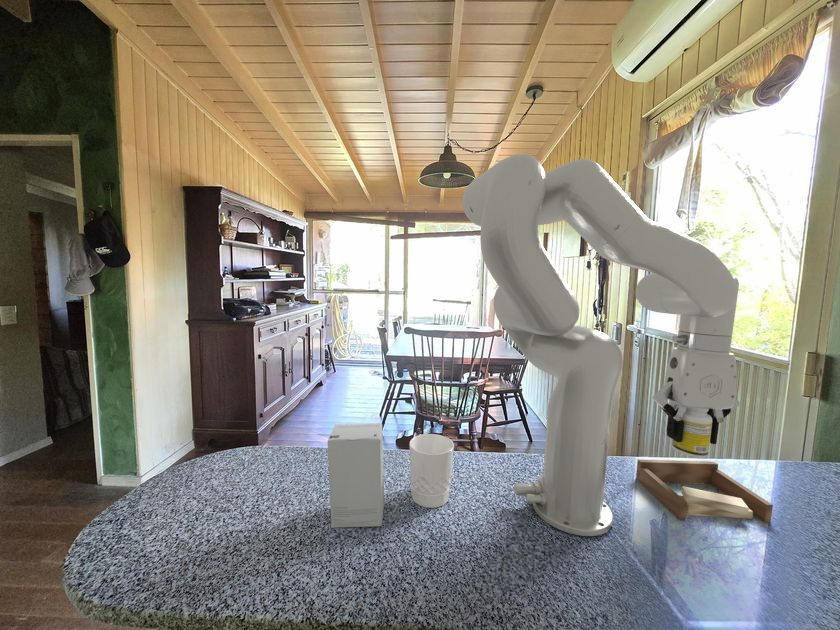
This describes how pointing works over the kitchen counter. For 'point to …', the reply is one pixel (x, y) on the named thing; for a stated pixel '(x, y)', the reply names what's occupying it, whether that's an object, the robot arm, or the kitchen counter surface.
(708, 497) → the top offcut
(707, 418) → the supplement bottle
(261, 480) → the kitchen counter surface
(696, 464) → the walnut rack
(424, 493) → the white cup
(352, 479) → the skincare box
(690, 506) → the middle offcut
